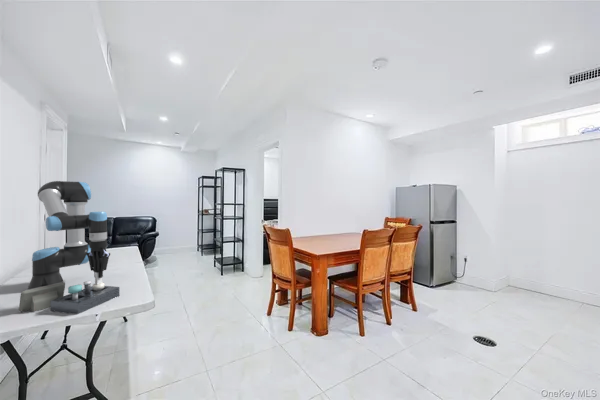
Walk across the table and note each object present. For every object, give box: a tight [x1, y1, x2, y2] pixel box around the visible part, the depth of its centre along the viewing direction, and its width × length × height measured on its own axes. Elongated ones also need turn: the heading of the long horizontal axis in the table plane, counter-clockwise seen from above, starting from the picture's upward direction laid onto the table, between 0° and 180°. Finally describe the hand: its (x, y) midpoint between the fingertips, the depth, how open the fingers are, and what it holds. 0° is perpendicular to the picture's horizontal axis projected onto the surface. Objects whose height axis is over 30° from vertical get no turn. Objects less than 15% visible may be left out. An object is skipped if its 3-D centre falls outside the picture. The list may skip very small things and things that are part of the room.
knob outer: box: [67, 284, 83, 301], centre depth 124 cm, size 5×5×7 cm
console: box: [50, 285, 120, 315], centre depth 130 cm, size 16×22×5 cm
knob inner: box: [92, 281, 105, 292], centre depth 136 cm, size 5×5×7 cm
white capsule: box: [83, 280, 92, 294], centre depth 130 cm, size 3×3×6 cm
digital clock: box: [18, 281, 66, 313], centre depth 125 cm, size 16×9×11 cm, turn 139°
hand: (98, 283), depth 136 cm, fingers closed
